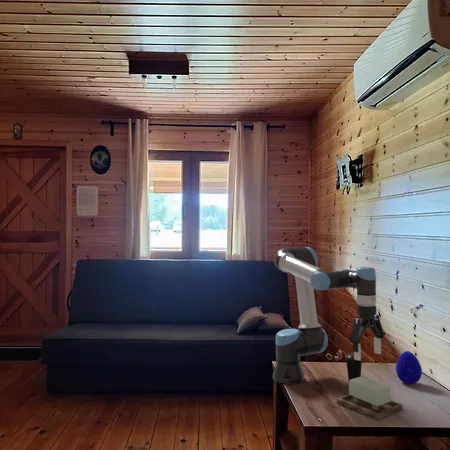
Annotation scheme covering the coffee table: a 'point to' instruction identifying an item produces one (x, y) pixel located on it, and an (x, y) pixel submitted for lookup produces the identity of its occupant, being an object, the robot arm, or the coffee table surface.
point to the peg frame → (370, 407)
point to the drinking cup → (353, 366)
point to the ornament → (408, 368)
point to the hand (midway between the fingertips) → (367, 356)
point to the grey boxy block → (369, 390)
